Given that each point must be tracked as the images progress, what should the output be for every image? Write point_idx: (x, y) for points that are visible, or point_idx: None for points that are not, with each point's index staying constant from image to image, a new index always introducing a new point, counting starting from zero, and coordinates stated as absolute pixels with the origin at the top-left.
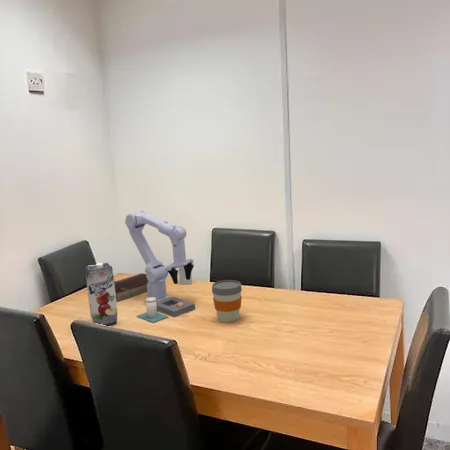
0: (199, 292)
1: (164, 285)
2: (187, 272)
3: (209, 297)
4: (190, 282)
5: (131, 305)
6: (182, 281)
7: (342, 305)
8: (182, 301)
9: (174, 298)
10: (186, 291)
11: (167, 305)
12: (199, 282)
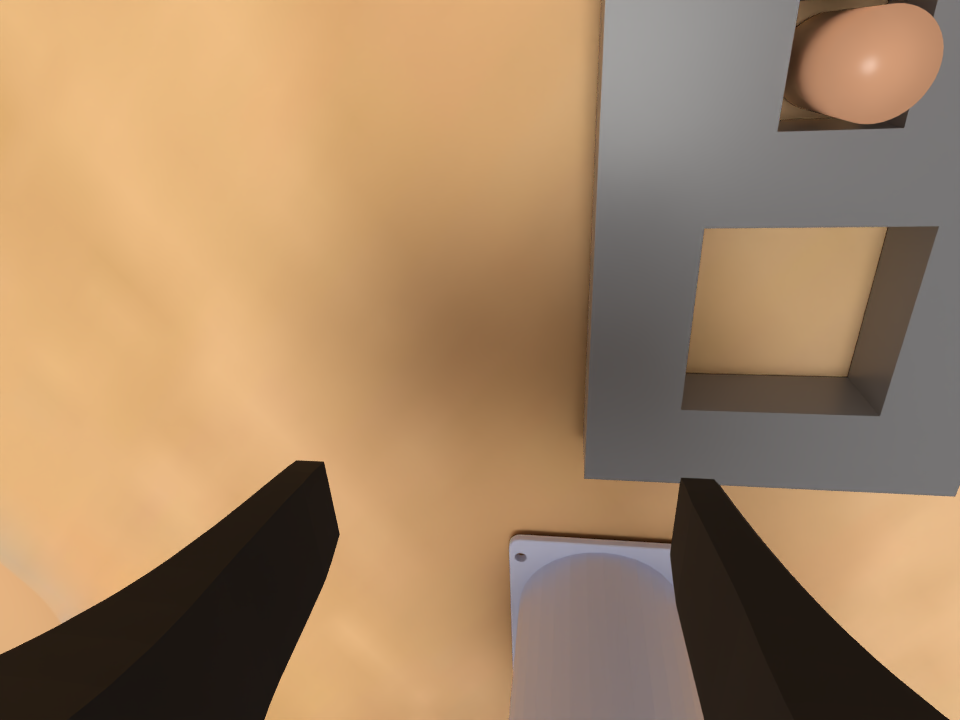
0: (186, 411)
1: (578, 697)
2: (244, 640)
3: (170, 181)
4: None
5: (908, 676)
6: None
7: None
8: (648, 224)
9: (618, 412)
10: None
11: (747, 381)
12: (58, 593)
